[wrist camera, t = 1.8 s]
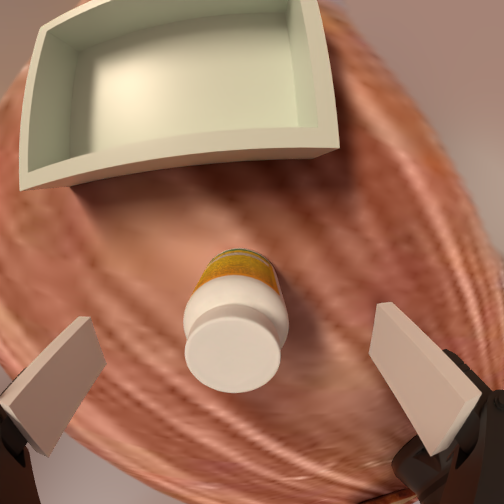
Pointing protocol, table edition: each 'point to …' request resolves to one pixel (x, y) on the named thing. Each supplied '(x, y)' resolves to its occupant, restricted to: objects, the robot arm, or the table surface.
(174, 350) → the table surface
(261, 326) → the supplement bottle
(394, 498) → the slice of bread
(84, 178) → the bin
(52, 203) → the table surface
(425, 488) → the robot arm
